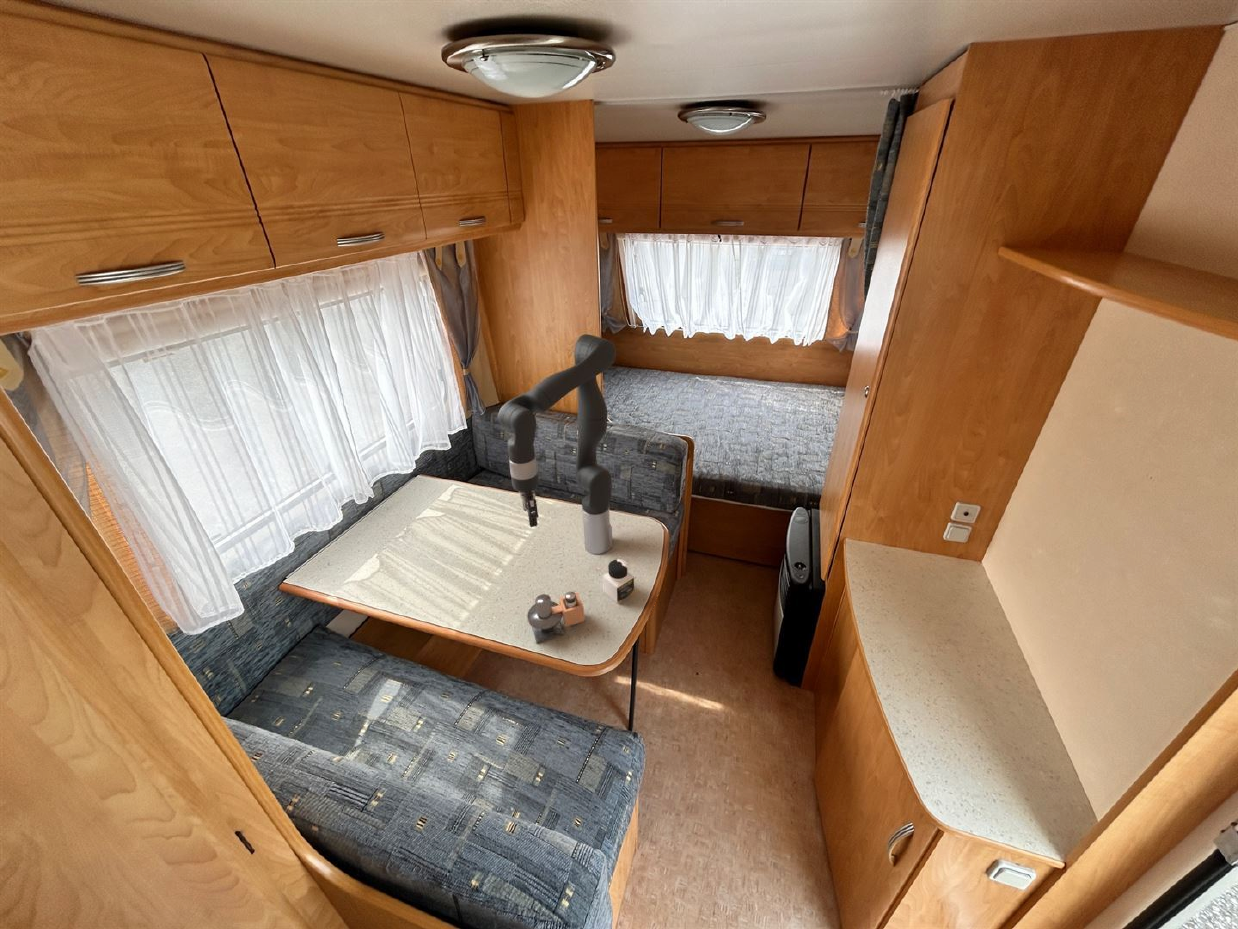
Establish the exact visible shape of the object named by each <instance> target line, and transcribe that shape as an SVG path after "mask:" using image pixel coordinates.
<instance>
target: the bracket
mask: <svg viewBox="0 0 1238 929" xmlns="http://www.w3.org/2000/svg"><path fill="white" fill-rule="evenodd" d="M575 594H576V607H573V608H569V609H566V600H565V596H562V597H559V598H558V602H559V604H558V606H554V607H552V615H553V614H557V613H560V612H562V621H563V624H564V626H565V627H568V626H569V627H570V626H571V625H573V624H576V623H577V624H579V623H582V622H585V611H584V610H585V609H584V605H583V602H582V599H581V598H580V595H579V593H578V592H577V593H575ZM577 624H576V625H577Z"/></svg>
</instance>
